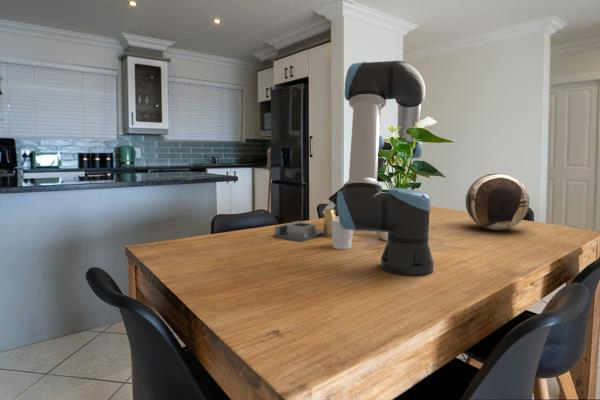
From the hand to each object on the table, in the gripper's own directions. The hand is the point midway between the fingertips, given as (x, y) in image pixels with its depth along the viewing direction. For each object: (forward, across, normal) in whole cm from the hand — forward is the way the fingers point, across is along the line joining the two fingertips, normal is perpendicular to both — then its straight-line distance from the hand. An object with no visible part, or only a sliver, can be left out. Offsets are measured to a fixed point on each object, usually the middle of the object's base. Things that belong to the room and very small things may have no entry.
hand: (333, 217), depth 160 cm
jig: (+14, +6, +3) cm, 15 cm away
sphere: (-44, -26, -55) cm, 75 cm away
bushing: (+7, -1, -4) cm, 8 cm away
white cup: (+12, -18, +1) cm, 22 cm away
